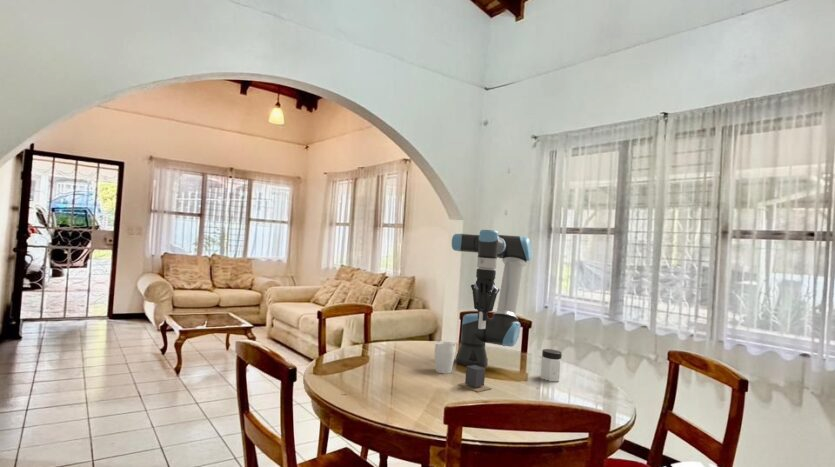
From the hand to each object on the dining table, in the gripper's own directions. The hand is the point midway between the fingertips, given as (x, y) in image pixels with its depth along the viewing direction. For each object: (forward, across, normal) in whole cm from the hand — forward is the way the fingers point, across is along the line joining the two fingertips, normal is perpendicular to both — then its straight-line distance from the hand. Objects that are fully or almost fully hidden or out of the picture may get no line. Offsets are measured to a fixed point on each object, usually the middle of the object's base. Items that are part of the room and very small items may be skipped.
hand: (481, 328), depth 176 cm
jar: (+23, +8, +39) cm, 46 cm away
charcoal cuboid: (+22, 0, -2) cm, 22 cm away
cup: (+23, -20, +2) cm, 31 cm away
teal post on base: (+23, 0, -2) cm, 23 cm away
